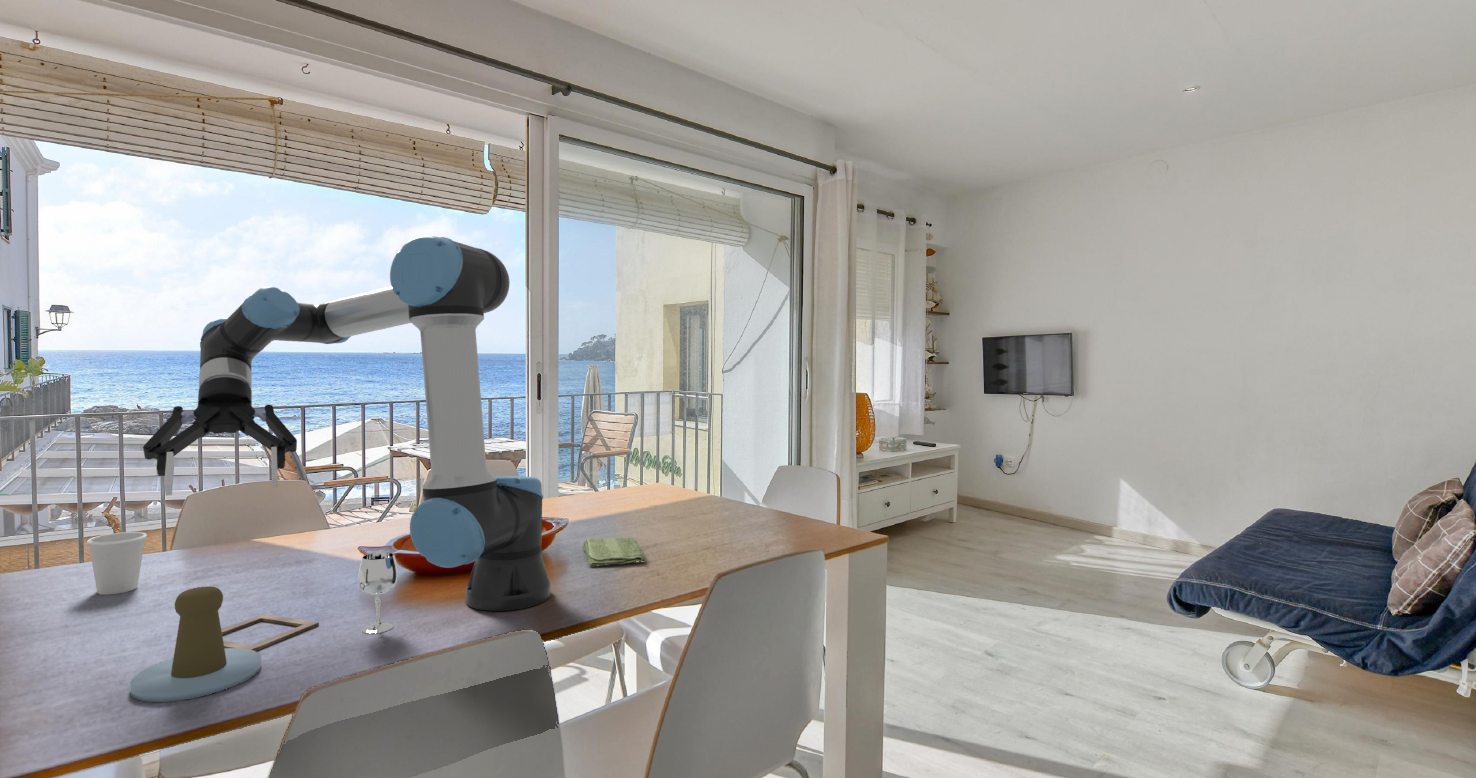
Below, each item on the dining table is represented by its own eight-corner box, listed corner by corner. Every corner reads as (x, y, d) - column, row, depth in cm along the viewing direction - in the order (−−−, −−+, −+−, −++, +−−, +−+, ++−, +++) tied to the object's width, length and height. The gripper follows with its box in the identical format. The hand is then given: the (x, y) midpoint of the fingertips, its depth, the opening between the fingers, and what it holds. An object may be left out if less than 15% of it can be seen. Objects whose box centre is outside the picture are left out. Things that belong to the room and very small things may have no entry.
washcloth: (588, 570, 149) (588, 555, 149) (581, 549, 166) (581, 536, 166) (648, 566, 153) (648, 552, 153) (635, 546, 170) (635, 533, 169)
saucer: (285, 663, 99) (285, 655, 99) (182, 709, 85) (182, 699, 85) (212, 650, 102) (212, 642, 102) (103, 692, 89) (103, 683, 89)
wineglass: (387, 619, 116) (388, 549, 116) (403, 627, 113) (404, 555, 113) (351, 628, 112) (352, 556, 112) (366, 638, 108) (367, 562, 108)
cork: (196, 680, 90) (196, 597, 90) (158, 675, 91) (158, 593, 91) (237, 661, 96) (238, 583, 96) (202, 657, 97) (202, 580, 97)
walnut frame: (319, 625, 113) (319, 622, 113) (249, 653, 102) (249, 650, 102) (263, 616, 117) (263, 613, 117) (189, 643, 105) (189, 639, 105)
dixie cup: (156, 586, 131) (156, 534, 131) (101, 599, 123) (100, 544, 123) (132, 580, 134) (132, 529, 134) (77, 592, 127) (77, 538, 127)
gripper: (308, 402, 130) (314, 492, 119) (134, 405, 116) (121, 508, 104) (309, 375, 126) (316, 465, 114) (129, 374, 112) (115, 478, 100)
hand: (223, 486), depth 109 cm, fingers open, 13 cm apart
